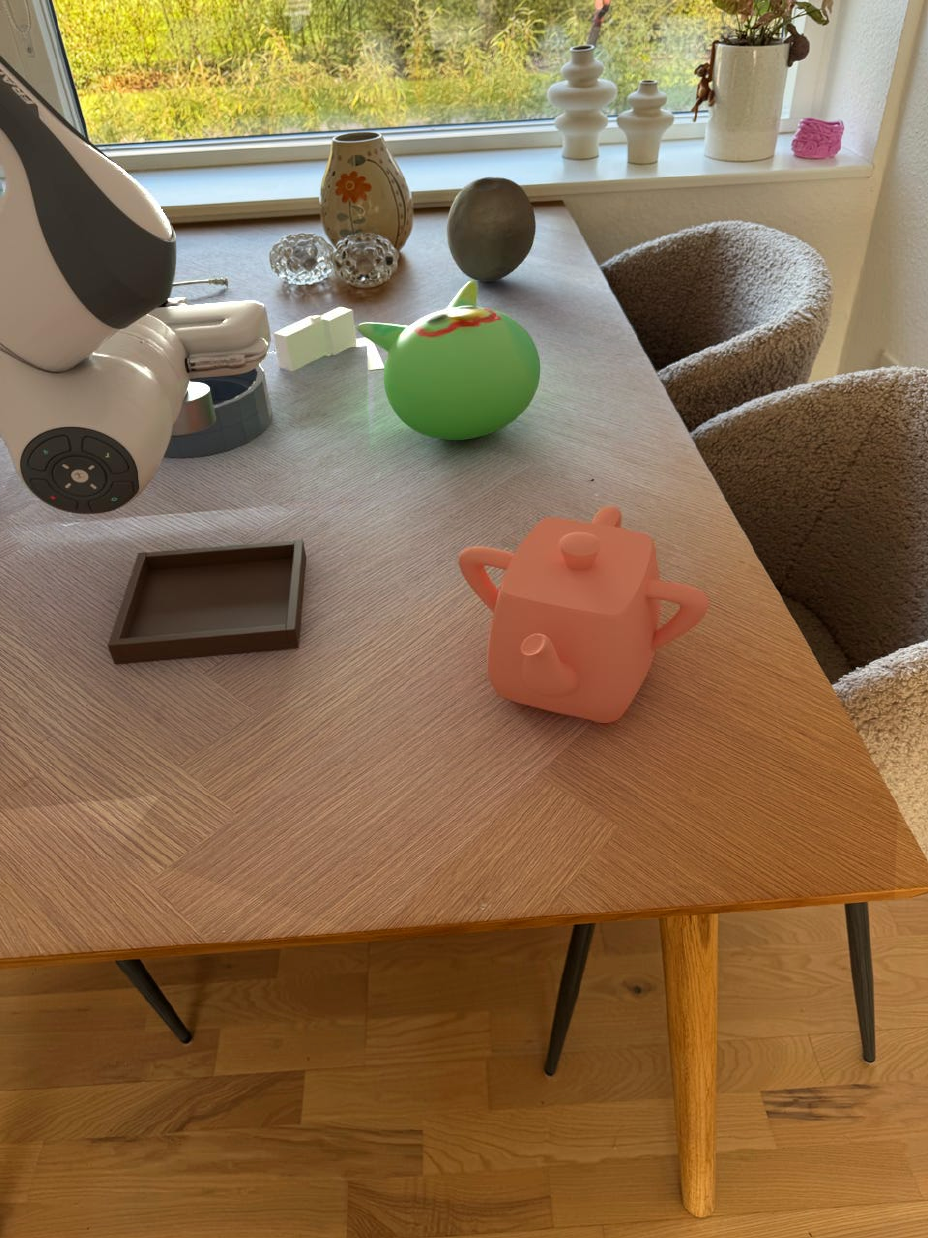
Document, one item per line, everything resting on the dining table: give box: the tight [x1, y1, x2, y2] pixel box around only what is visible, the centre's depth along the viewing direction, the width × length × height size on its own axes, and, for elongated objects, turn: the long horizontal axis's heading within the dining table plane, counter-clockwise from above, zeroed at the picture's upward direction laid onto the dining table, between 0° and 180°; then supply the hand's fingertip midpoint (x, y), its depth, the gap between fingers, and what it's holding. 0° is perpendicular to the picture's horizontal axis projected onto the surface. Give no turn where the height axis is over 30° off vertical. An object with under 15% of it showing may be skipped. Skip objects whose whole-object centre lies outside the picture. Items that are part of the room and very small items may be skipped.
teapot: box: [457, 505, 710, 724], centre depth 70 cm, size 17×16×13 cm
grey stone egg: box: [446, 176, 537, 282], centre depth 142 cm, size 14×14×15 cm
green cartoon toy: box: [356, 280, 541, 441], centre depth 104 cm, size 18×17×15 cm
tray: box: [107, 539, 307, 665], centre depth 83 cm, size 16×14×2 cm
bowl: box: [163, 363, 273, 459], centre depth 110 cm, size 17×17×6 cm
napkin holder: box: [267, 306, 385, 372], centre depth 124 cm, size 15×11×6 cm
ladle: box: [157, 300, 216, 436], centre depth 81 cm, size 6×6×19 cm
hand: (159, 307), depth 81 cm, fingers closed on ladle, 2 cm apart
